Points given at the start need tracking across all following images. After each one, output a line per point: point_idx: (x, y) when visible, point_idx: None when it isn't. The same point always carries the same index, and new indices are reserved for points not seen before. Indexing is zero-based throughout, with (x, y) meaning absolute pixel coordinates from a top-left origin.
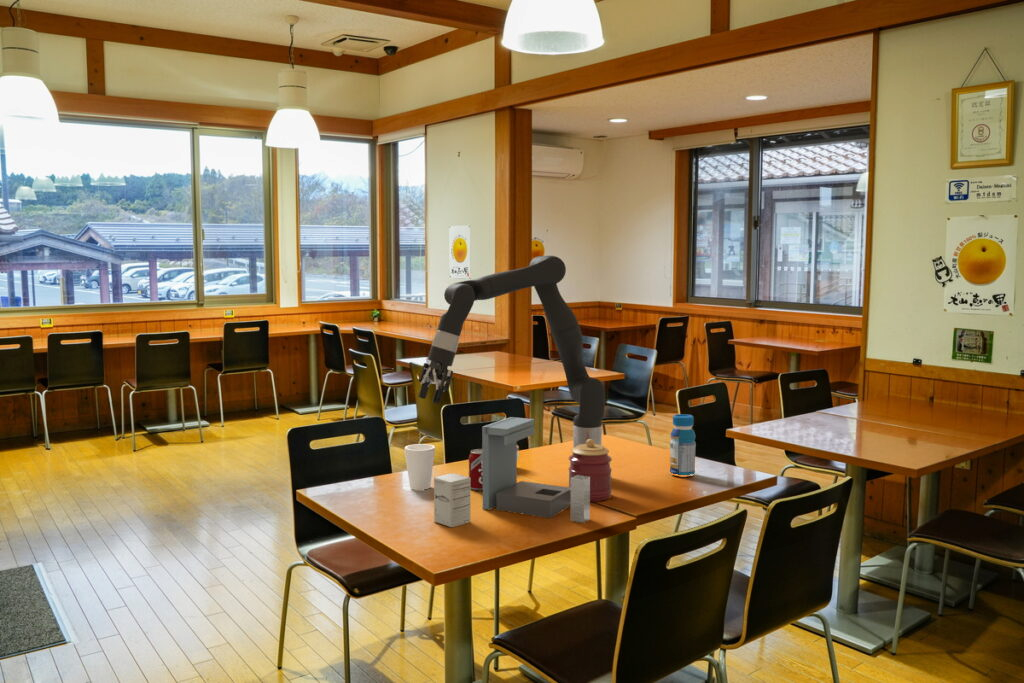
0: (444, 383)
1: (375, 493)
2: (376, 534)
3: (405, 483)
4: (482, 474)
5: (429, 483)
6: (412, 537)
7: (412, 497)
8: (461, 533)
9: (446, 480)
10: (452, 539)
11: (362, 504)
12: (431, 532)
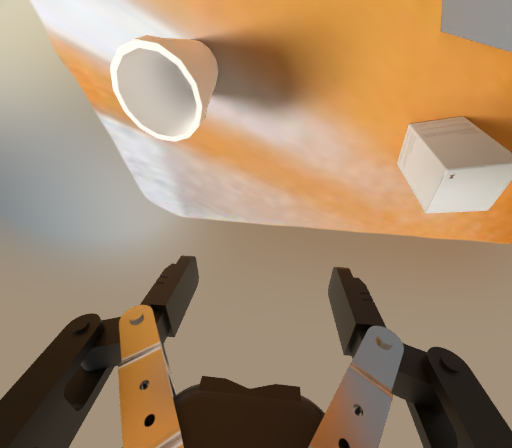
0: (389, 398)
1: (202, 156)
2: (364, 228)
3: None
4: (493, 46)
5: (210, 55)
6: (412, 211)
7: (254, 120)
8: None
9: (469, 209)
10: None
11: (247, 192)
12: None
